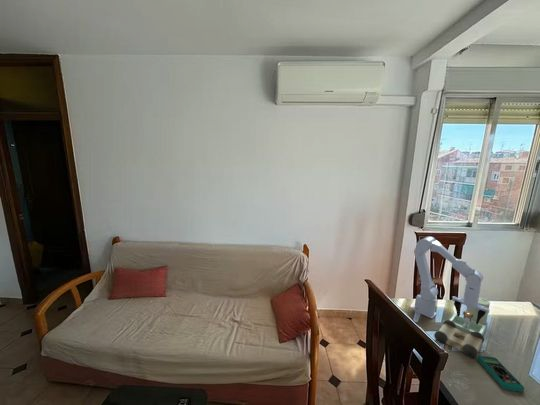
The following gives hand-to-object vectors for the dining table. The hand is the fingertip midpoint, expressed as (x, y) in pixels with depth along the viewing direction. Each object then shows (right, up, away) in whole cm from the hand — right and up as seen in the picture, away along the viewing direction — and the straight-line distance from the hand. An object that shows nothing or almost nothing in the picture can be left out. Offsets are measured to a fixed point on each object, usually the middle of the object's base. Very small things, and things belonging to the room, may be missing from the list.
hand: (467, 319), depth 123 cm
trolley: (-11, -7, -8) cm, 15 cm away
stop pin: (-1, -5, 0) cm, 5 cm away
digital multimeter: (-9, -11, -26) cm, 29 cm away
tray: (0, -6, +1) cm, 6 cm away
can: (+13, -5, +10) cm, 17 cm away
